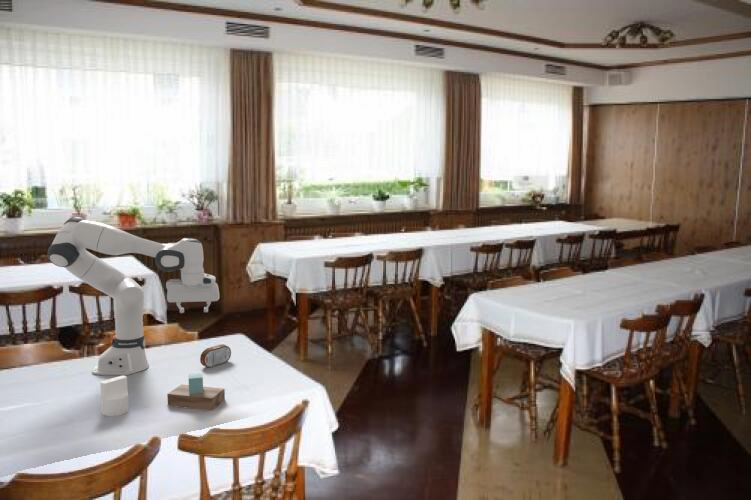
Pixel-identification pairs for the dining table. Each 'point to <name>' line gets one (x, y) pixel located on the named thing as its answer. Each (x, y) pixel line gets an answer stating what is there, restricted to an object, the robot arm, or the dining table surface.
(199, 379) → the teal cube
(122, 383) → the cylinder with rectangular tab
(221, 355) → the tin
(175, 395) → the walnut block
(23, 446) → the dining table surface
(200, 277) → the robot arm
